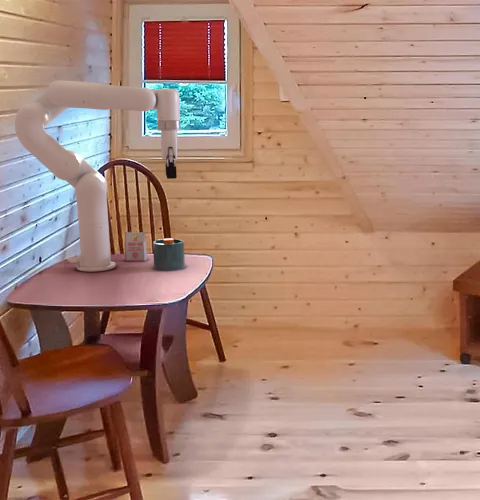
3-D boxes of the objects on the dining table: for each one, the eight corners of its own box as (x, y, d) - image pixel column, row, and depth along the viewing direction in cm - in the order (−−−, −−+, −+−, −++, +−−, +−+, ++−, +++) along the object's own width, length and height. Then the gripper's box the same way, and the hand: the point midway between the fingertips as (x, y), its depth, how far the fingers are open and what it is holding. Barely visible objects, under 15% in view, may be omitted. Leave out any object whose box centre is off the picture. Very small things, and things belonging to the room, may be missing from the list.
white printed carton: (128, 258, 274) (126, 231, 272) (147, 259, 274) (145, 231, 272) (125, 261, 270) (123, 233, 268) (144, 261, 270) (143, 233, 268)
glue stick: (164, 266, 259) (163, 240, 257) (164, 264, 262) (163, 238, 260) (174, 265, 259) (173, 239, 258) (174, 263, 263) (173, 238, 261)
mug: (185, 269, 257) (184, 243, 255) (154, 271, 255) (153, 244, 253) (183, 261, 270) (182, 236, 268) (153, 262, 268) (152, 237, 266)
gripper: (156, 125, 264) (159, 174, 267) (158, 127, 247) (160, 180, 251) (179, 125, 266) (181, 174, 269) (181, 127, 249) (183, 179, 253)
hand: (171, 177), depth 260 cm, fingers open, 9 cm apart
